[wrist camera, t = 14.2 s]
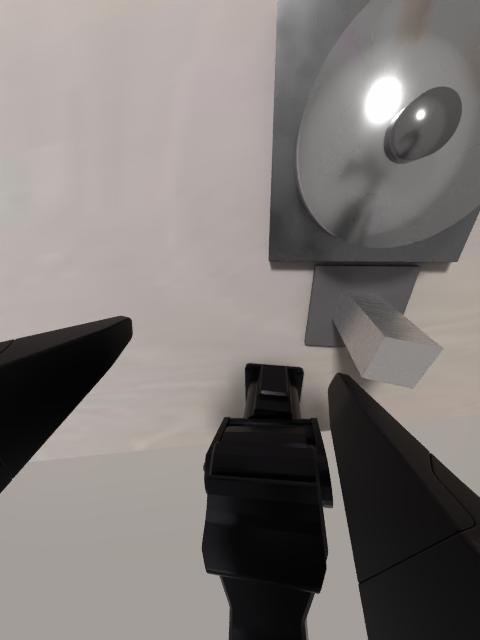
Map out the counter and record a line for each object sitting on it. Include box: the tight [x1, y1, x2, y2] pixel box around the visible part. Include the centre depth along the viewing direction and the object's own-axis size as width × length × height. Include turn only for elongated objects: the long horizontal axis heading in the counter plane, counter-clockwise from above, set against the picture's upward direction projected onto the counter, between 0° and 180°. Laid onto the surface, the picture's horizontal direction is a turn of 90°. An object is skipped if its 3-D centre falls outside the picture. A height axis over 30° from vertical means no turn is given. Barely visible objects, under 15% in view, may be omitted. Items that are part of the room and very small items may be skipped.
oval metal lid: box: [294, 0, 480, 248], centre depth 10 cm, size 16×11×4 cm
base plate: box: [269, 0, 480, 262], centre depth 14 cm, size 14×14×1 cm
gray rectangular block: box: [332, 289, 443, 389], centre depth 15 cm, size 3×3×8 cm
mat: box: [305, 265, 421, 347], centre depth 19 cm, size 8×8×1 cm
